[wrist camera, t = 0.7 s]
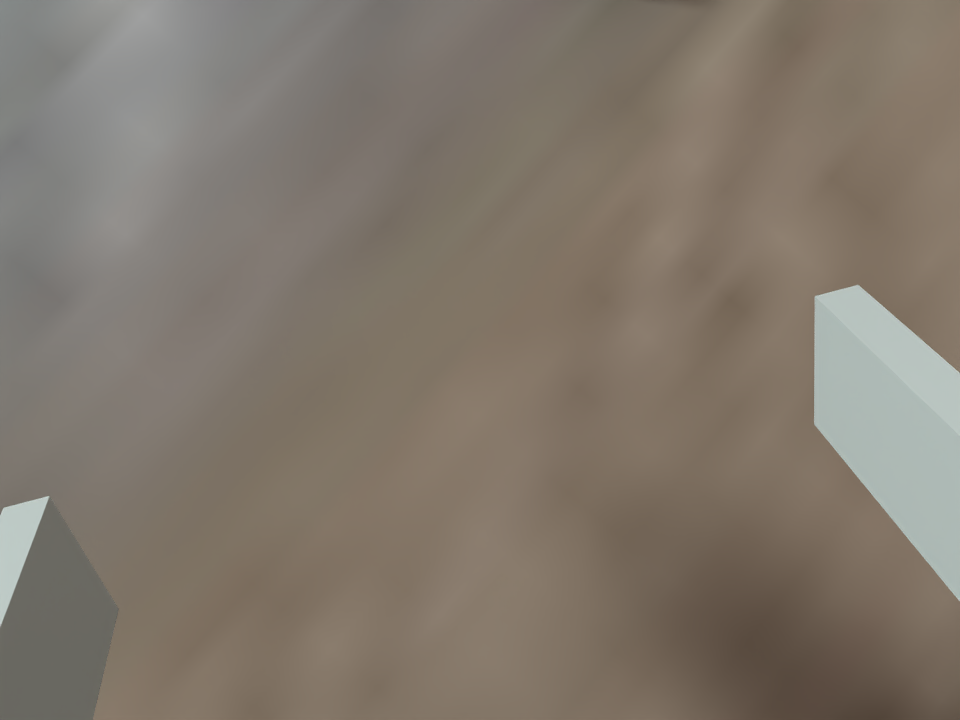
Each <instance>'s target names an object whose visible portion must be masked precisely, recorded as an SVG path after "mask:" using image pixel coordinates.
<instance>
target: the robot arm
mask: <svg viewBox="0 0 960 720" xmlns="http://www.w3.org/2000/svg"><path fill="white" fill-rule="evenodd" d="M814 424H815V426H816V427H817V428H818V429H819V430H820V432H821V433H822V434H823V435H824V437H825V438H826V439H827V440H828V441H829V443H830V444H831V445H832V446H833V448H834V449H835V450H836V451H837V452H838V454H839V455H840V456H841V457H842V459H843V460H844V461H845V462H846V463H847V465H848V466H849V467H850V468H851V469H852V471H853V472H854V473H855V474H856V476H857V477H858V478H859V479H860V480H861V482H862V483H863V484H864V485H865V487H866V488H867V489H868V490H869V491H870V493H871V494H872V495H873V496H874V498H875V499H876V500H877V501H878V502H879V504H880V505H881V506H882V507H883V508H884V510H885V511H886V512H887V513H888V515H889V516H890V517H891V518H892V519H893V521H894V522H895V523H896V524H897V526H898V527H899V528H900V529H901V530H902V532H903V533H904V534H905V535H906V536H907V538H908V539H909V540H910V541H911V543H912V544H913V545H914V546H915V547H916V549H917V550H918V551H919V552H920V554H921V555H922V556H923V557H924V558H925V560H926V561H927V562H928V563H929V565H930V566H931V567H932V568H933V569H934V571H935V572H936V573H937V574H938V575H939V577H940V578H941V579H942V580H943V582H944V583H945V584H946V585H947V586H948V588H949V589H950V590H951V591H952V593H953V594H954V595H955V596H956V597H957V599H958V600H959V601H960V373H959V372H958V371H957V370H956V369H954V368H953V367H952V366H951V365H950V364H949V363H948V362H946V361H945V360H944V359H943V358H942V357H941V356H939V355H938V354H937V353H936V352H935V351H934V350H933V349H931V348H930V347H929V346H928V345H927V344H926V343H925V342H923V341H922V340H921V339H920V338H919V337H918V336H916V335H915V334H914V333H913V332H912V331H911V330H910V329H908V328H907V327H906V326H905V325H904V324H903V323H901V322H900V321H899V320H898V319H897V318H896V317H895V316H893V315H892V314H891V313H890V312H889V311H888V310H886V309H885V308H884V307H883V306H882V305H881V304H880V303H878V302H877V301H876V300H875V299H874V298H873V297H872V296H870V295H869V294H868V293H867V292H866V291H865V290H863V289H862V288H861V287H860V286H859V285H856V286H852V287H849V288H845V289H841V290H837V291H833V292H829V293H826V294H822V295H818V296H815V383H814ZM118 610H119V608H118V607H117V605H116V604H115V602H114V600H113V599H112V597H111V595H110V594H109V592H108V591H107V589H106V587H105V586H104V584H103V582H102V581H101V579H100V577H99V576H98V574H97V573H96V571H95V569H94V568H93V566H92V564H91V563H90V561H89V560H88V558H87V556H86V555H85V553H84V551H83V550H82V548H81V546H80V545H79V543H78V542H77V540H76V538H75V537H74V535H73V533H72V532H71V530H70V529H69V527H68V525H67V524H66V522H65V520H64V519H63V517H62V515H61V514H60V512H59V511H58V509H57V507H56V506H55V504H54V502H53V501H52V499H51V498H50V496H48V497H44V498H40V499H36V500H32V501H28V502H25V503H21V504H17V505H13V506H9V507H5V508H3V511H2V513H1V515H0V720H93V716H94V712H95V707H96V703H97V699H98V695H99V690H100V686H101V682H102V678H103V673H104V669H105V665H106V661H107V656H108V652H109V648H110V644H111V639H112V635H113V631H114V627H115V623H116V618H117V614H118Z"/></svg>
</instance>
